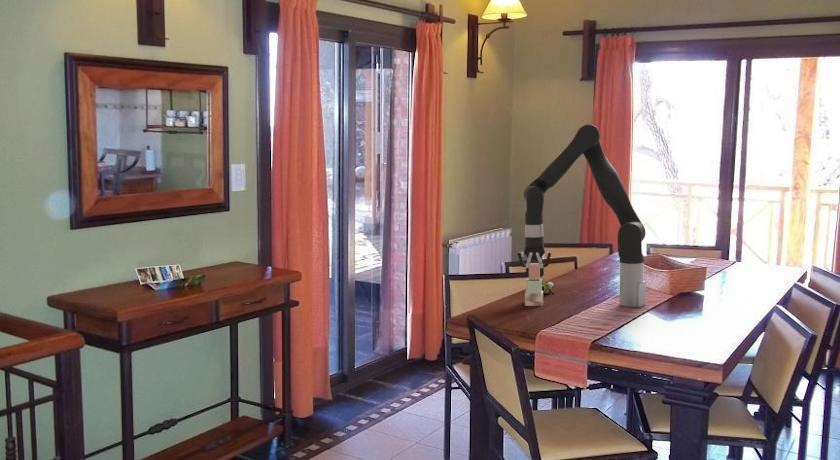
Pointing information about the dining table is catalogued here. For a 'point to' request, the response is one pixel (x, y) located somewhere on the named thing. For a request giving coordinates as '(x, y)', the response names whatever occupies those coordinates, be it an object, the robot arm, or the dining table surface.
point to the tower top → (534, 286)
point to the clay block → (534, 271)
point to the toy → (547, 286)
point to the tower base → (533, 299)
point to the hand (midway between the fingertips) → (534, 276)
